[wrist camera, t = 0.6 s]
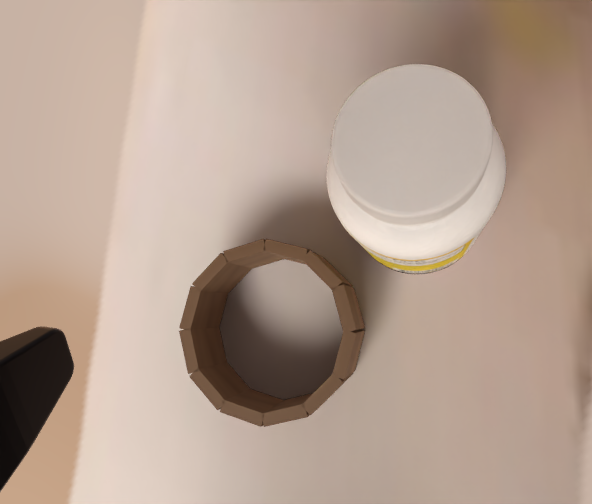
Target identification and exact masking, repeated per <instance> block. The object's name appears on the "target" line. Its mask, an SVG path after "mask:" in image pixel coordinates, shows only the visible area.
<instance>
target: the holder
mask: <svg viewBox="0 0 592 504" xmlns="http://www.w3.org/2000/svg"><path fill="white" fill-rule="evenodd" d="M223 252H224V254H223V253H220V254H219V256H218V257H217V258H216V259H215V260H214V261H213V262H212V263H211V264H210V265H209V266H208V267H207V268H206V269H205V271H204V272H203V273H202V274H201V275H200V276H199V277H198V278H197V279H196V280H195V281H194V282H193V283H192V284H193V285H194V286H195V287H193V286H191V287H190V291H189V295H188V298H187V302H186V306H185V309H184V313H183V317H182V320H181V324H180V328H181V329H184V330H181V331H179V332H180V337H181V342H182V346H183V351H184V356H185V361H186V366H187V370H188V374H189V373H192V374H191V376H190V378H191V379H192V380H193V381H194V383H195V384H196V385H197V386H198V387H199V389H200V390H201V391H202V392H203V393H204V395H205V396H206V397H207V398H208V399H209V401H210V402H211V403H212V404H213V405H214V407H215V408H216V409H217V410H219V409H221V410H220V412H222V413H225V414H227V415H230V416H233V417H236V418H238V419H241V420H244V421H247V422H250V423H252V424H255V425H258V426H263V425H264V427H265V426H270V425H274V424H279V423H283V422H287V421H292V420H296V419H301V418H305V417H308V416H309V415H311V414H312V413H313V412H314V411H316V410H317V409H318V408H319V407H320V406H321V405H322V404H323V403H324V402H325V401H326V400H327V399H328V398H329V397H330V396H331V395H332V394H333V393H334V392H335V391H336V390H337V389H338V388H339V387H340V386H341V385H342V384H343V383H344V382H345V381H346V380H347V379H348V378H349V377H350V376H351V375H352V374H353V372H354V371H355V369H356V365H357V361H358V357H359V353H360V349H361V345H362V341H363V337H364V333H365V330H361V329H362V328H365V326H364V322H363V319H362V315H361V311H360V308H359V304H358V301H357V297H356V294H355V290H354V288H352V285H351V284H350V283H349V282H348V281H347V280H346V279H345V278H344V277H343V276H342V275H341V274H340V273H339V272H338V271H337V270H336V269H335V268H334V267H333V266H332V265H331V264H330V263H329V262H328V261H327V260H326V259H325V258H323V257H321V256H319V255H318V254H316V253H314V252H312V251H311V250H309V249H306V248H302V247H298V246H294V245H290V244H286V243H282V242H278V241H273V240H269V239H266V240H265V239H261V240H258V241H255V242H252V243H248V244H245V245H242V246H239V247H236V248H232V249H229V250H226V251H223ZM282 259H287V260H291V261H295V262H299V263H303V264H307V265H308V266H309V267H310V268H311V269H312V270H313V271H314V272H315V273H316V274H317V275H318V276H319V277H320V278H321V279H322V280H323V281H324V282H325V283H326V284H327V285H328V286H329V287H330V288H331V289H332V292H333V295H334V299H335V303H336V306H337V310H338V314H339V318H340V321H341V325H342V329H343V335H342V339H341V342H340V346H339V350H338V354H337V358H336V362H335V366H334V370H333V374H332V375H331V376H330V377H329V378H328V379H327V380H326V381H325V382H324V383H323V384H322V385H321V386H320V387H319V388H318V389H317V390H316V391H315V392H314V393H311V394H307V395H303V396H299V397H294V398H290V399H286V400H282V399H279V398H276V397H273V396H270V395H267V394H264V393H261V392H258V391H255V390H252V389H250V388H249V387H248V386H247V385H246V383H245V382H244V381H243V380H242V379H241V378H240V377H239V375H238V374H237V373H236V372H235V371H234V370H233V369H232V367H231V366H230V365H229V364H228V363H227V360H226V356H225V351H224V347H223V342H222V338H221V333H220V329H219V326H220V322H221V319H222V315H223V311H224V308H225V304H226V300H227V296H228V293H229V292H230V291H231V290H232V289H233V288H234V287H235V286H236V285H237V284H238V283H239V282H240V281H241V280H242V279H243V277H244V276H245V275H246V274H247V273H248V272H249V271H250V270H251V269H252V268H256V267H259V266H262V265H266V264H269V263H272V262H275V261H279V260H282Z"/></svg>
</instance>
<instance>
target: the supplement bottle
mask: <svg viewBox="0 0 592 504" xmlns="http://www.w3.org/2000/svg"><path fill="white" fill-rule="evenodd" d="M505 179H506V158H505V152H504V148H503V144H502V141H501V139H500V137H499V134H498V132H497V130H496V129H495V127H494V125H493V124H492V121H491V116H490V113H489V110H488V108H487V106H486V104H485V102H484V100H483V98H482V97H481V95H480V94H479V93H478V91H477V90H476V89H475V88H474V87H473V86H472V85H471V84H470V83H469V82H468V81H466V80H465V79H464V78H462V77H461V76H459V75H458V74H456V73H454V72H452V71H450V70H447V69H444V68H442V67H438V66H434V65H427V64H408V65H401V66H397V67H393V68H390V69H386V70H384V71H382V72H380V73H378V74H376V75H374V76H372V77H371V78H369V79H368V80H366V81H365V82H364V83H362V84H361V85H360V86H359V87H358V88H357V89H355V90H354V91H353V92H352V94H351V95H350V96H349V97H348V99H347V100H346V101H345V103H344V104H343V106H342V107H341V109H340V111H339V113H338V115H337V117H336V120H335V123H334V127H333V131H332V138H331V151H330V154H329V158H328V163H327V178H326V180H327V189H328V194H329V198H330V201H331V204H332V207H333V209H334V211H335V213H336V215H337V217H338V219H339V220H340V222H341V224H342V225H343V227H344V228H345V229H346V231H347V232H348V233H349V234H350V235H351V236H352V237H353V238H354V239H355V240H356V241H357V242H358V243H359V244H360V245H361V246H362V247H363V248H364V249H365V250H366V251H367V252H368V253H369V254H370V255H371V256H372V257H373V258H374V259H376V260H377V261H378V262H380V263H381V264H383V265H385V266H386V267H388V268H390V269H393V270H395V271H398V272H402V273H407V274H427V273H432V272H436V271H439V270H442V269H444V268H446V267H449V266H450V265H452V264H454V263H455V262H456V261H458V260H459V259H460V258H461V257H462V256H464V255H465V254H466V253H467V252H468V250H469V249H470V248H471V247H472V245H473V244H474V242H475V241H476V239H477V238H478V236H479V235H480V233H481V231H482V230H483V228H484V227H485V225H486V224H487V222H488V221H489V219H490V218H491V216H492V215H493V213H494V212H495V210H496V208H497V206H498V204H499V202H500V199H501V196H502V193H503V190H504V185H505Z"/></svg>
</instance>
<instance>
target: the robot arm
mask: <svg viewBox="0 0 592 504" xmlns="http://www.w3.org/2000/svg"><path fill="white" fill-rule="evenodd" d="M73 370H74V363H73V360H72V356H71V353H70V350H69V347H68V344H67V340H66V337H65V335H64V333H63V332H62V331H61V330H59V329H57V328H49V327H36V328H34V329H31V330H28V331H26V332H24V333H21V334H19V335H16V336H13V337H11V338H8V339H6V340H3V341H1V342H0V492H1V490H2V489H3V487H4V486H5V484H6V483H7V482H8V480H9V479H10V477H11V476H12V474H13V473H14V472H15V470H16V469H17V467H18V466H19V464H20V463H21V461H22V460H23V459H24V457H25V456H26V454H27V453H28V451H29V449H30V448H31V446H32V444H33V443H34V441H35V440H36V438H37V436H38V434H39V432H40V431H41V429H42V427H43V426H44V424H45V422H46V420H47V419H48V417H49V415H50V413H51V412H52V410H53V408H54V407H55V405H56V403H57V401H58V399H59V398H60V396H61V394H62V393H63V391H64V389H65V387H66V386H67V384H68V382H69V381H70V379H71V377H72V374H73Z"/></svg>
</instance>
